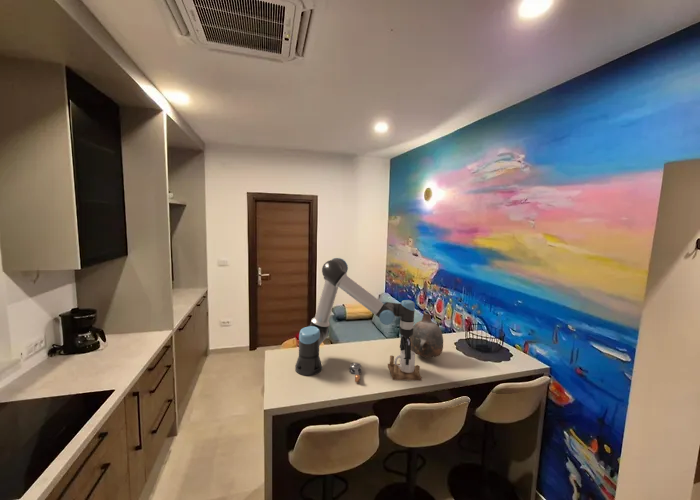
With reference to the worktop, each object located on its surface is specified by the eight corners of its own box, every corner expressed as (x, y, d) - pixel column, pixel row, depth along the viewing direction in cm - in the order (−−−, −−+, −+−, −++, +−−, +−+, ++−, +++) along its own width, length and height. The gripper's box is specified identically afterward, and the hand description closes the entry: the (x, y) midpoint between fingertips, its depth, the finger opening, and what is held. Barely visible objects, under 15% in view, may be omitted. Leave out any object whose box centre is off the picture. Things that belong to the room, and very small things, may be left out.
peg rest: (392, 379, 168) (393, 367, 167) (387, 365, 184) (388, 354, 183) (421, 380, 169) (422, 368, 168) (413, 366, 185) (414, 355, 184)
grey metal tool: (351, 382, 162) (352, 375, 161) (349, 367, 178) (350, 361, 178) (363, 382, 162) (363, 375, 162) (360, 367, 179) (360, 361, 178)
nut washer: (349, 374, 172) (349, 372, 172) (349, 368, 179) (349, 366, 179) (362, 374, 172) (362, 372, 172) (360, 368, 179) (360, 366, 179)
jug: (447, 366, 186) (451, 318, 184) (412, 365, 186) (415, 317, 183) (435, 349, 211) (439, 307, 208) (404, 348, 211) (407, 306, 208)
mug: (396, 374, 171) (397, 356, 170) (391, 367, 179) (392, 350, 178) (416, 373, 173) (417, 355, 172) (411, 366, 181) (412, 349, 180)
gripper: (418, 334, 163) (415, 375, 165) (408, 321, 185) (405, 357, 187) (404, 334, 163) (402, 374, 165) (396, 321, 184) (393, 356, 186)
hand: (404, 365), depth 176 cm, fingers open, 9 cm apart
